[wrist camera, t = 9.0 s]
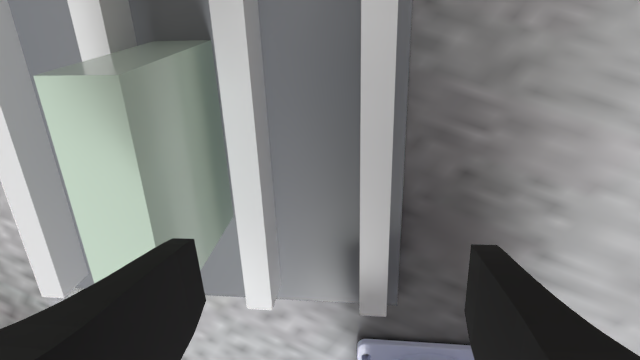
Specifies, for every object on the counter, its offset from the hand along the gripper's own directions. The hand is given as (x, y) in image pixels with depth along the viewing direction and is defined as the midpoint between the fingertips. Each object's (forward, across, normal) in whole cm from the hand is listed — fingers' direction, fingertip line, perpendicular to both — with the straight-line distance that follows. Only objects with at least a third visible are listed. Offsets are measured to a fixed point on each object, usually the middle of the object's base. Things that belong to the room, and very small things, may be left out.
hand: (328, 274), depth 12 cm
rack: (+9, +7, -1) cm, 11 cm away
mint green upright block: (+8, +7, -1) cm, 11 cm away
